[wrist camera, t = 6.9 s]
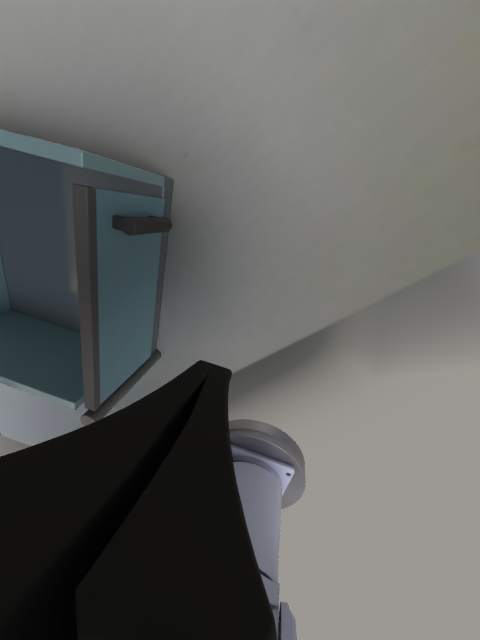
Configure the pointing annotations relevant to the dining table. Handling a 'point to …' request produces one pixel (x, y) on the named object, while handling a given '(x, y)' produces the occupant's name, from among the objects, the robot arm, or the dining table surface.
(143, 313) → the blue flat panel
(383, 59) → the dining table surface
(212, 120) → the dining table surface
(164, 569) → the robot arm
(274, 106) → the dining table surface
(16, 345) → the light blue open box
